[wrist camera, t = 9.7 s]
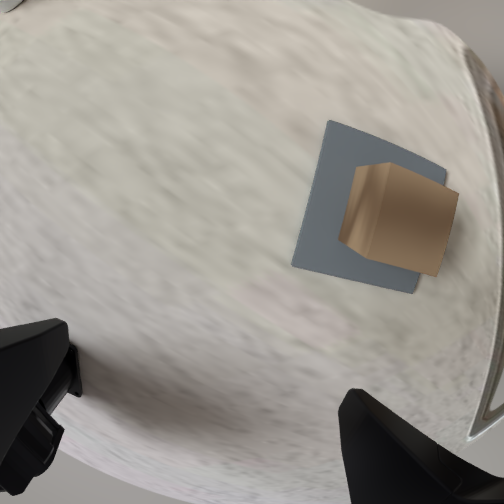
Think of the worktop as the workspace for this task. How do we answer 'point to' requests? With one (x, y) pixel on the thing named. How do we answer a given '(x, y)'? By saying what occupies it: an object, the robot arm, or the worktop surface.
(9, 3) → the milk bottle
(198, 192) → the worktop surface
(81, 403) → the worktop surface
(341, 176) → the slate pad
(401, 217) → the walnut cube
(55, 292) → the worktop surface
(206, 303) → the worktop surface
